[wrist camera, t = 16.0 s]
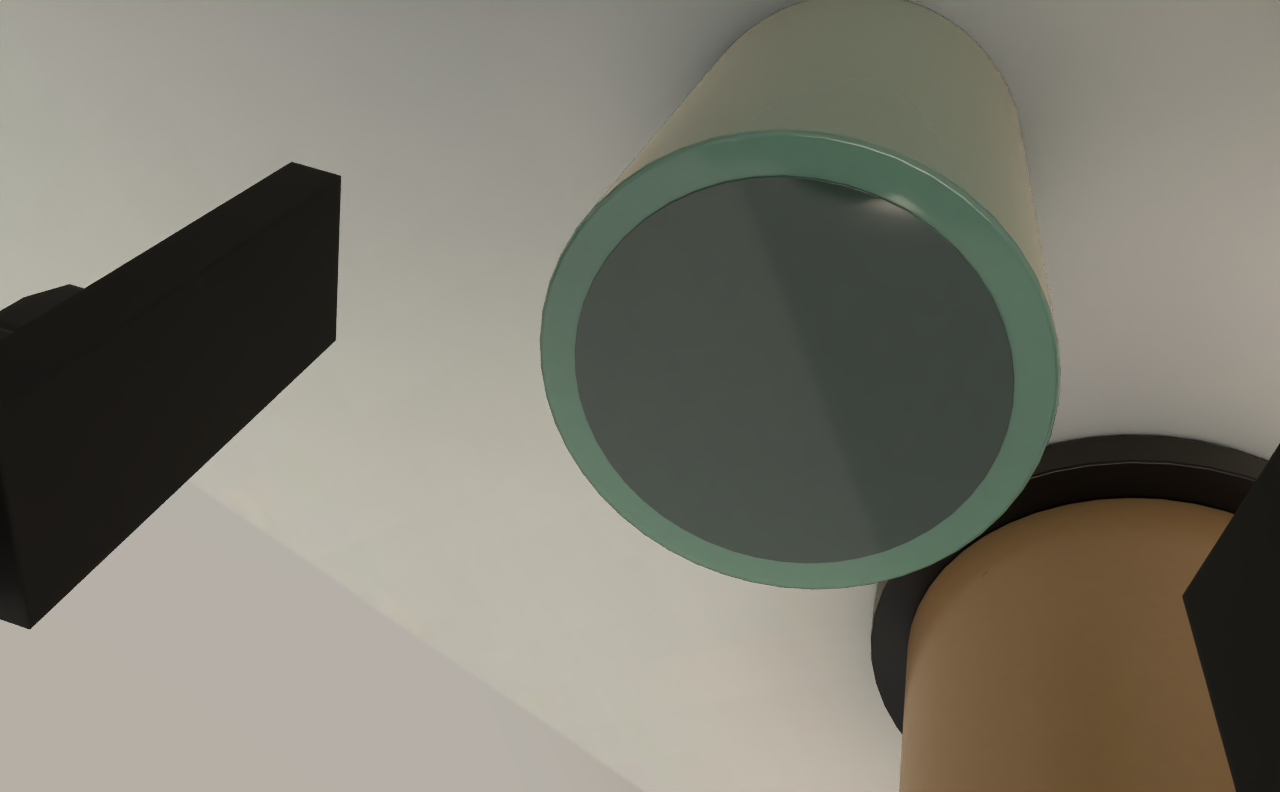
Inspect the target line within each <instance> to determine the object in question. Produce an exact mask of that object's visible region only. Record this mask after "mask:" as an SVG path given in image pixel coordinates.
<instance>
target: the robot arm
mask: <svg viewBox="0 0 1280 792" xmlns="http://www.w3.org/2000/svg"><path fill="white" fill-rule="evenodd" d="M340 192H341V176H340V175H336V174H333V173H329V172H325V171H322V170H318V169H315V168H311V167H308V166H304V165H301V164H297V163H294V162H291V163H289V164H287V165H286V166H284V167H282V168H281V169H279V170H278V171H276V172H274V173H273V174H271V175H269V176H268V177H266V178H264V179H263V180H261V181H260V182H258V183H256V184H255V185H253V186H251V187H250V188H248V189H246V190H245V191H243V192H242V193H240V194H238V195H237V196H235V197H233V198H232V199H230V200H228V201H227V202H225V203H224V204H222V205H220V206H219V207H217V208H215V209H214V210H212V211H210V212H209V213H207V214H206V215H204V216H202V217H201V218H199V219H197V220H196V221H194V222H192V223H191V224H189V225H188V226H186V227H184V228H183V229H181V230H179V231H178V232H176V233H175V234H173V235H171V236H170V237H168V238H166V239H165V240H163V241H161V242H160V243H158V244H157V245H155V246H153V247H152V248H150V249H148V250H147V251H145V252H143V253H142V254H140V255H139V256H137V257H135V258H134V259H132V260H130V261H129V262H127V263H125V264H124V265H122V266H121V267H119V268H117V269H116V270H114V271H112V272H111V273H109V274H107V275H106V276H104V277H103V278H101V279H99V280H98V281H96V282H94V283H93V284H91V285H90V286H88V287H86V288H85V289H84V288H80V287H77V286H74V285H71V284H69V285H65V286H62V287H58V288H55V289H51V290H48V291H44V292H41V293H37V294H34V295H30V296H27V297H24V298H22V299H20V300H18V301H17V302H15V303H13V304H12V305H10V306H8V307H6V308H5V309H3V310H1V311H0V619H1V620H4V621H7V622H10V623H13V624H16V625H19V626H21V627H24V628H27V629H31V628H32V627H33V626H34V625H35V624H36V623H37V622H38V621H39V620H40V619H41V618H43V617H44V615H46V614H47V613H48V612H49V611H50V610H51V609H52V608H53V607H54V606H55V605H56V604H57V603H58V602H59V601H60V600H61V599H63V598H64V597H65V596H66V595H67V594H68V593H69V592H70V591H71V590H72V589H73V588H74V587H75V586H76V585H77V584H78V583H80V582H81V580H83V579H84V578H85V577H86V576H87V575H88V574H89V573H90V572H91V571H92V570H93V569H94V568H95V567H96V566H98V565H99V564H100V562H102V561H103V560H104V559H105V558H106V557H107V556H108V555H109V554H110V553H111V552H112V551H113V550H114V549H115V548H116V547H117V546H119V545H120V544H121V543H122V542H123V541H124V540H125V539H126V538H127V537H128V536H129V535H130V534H131V533H132V532H133V531H134V530H136V529H137V528H138V527H139V526H140V525H141V524H142V523H143V522H144V521H145V520H146V519H147V518H148V517H149V516H150V515H151V514H152V513H154V512H155V511H156V510H157V509H158V508H159V507H160V506H161V505H162V504H163V503H164V502H165V501H166V500H167V499H168V498H169V497H170V496H171V495H173V494H174V493H175V492H176V491H177V490H178V489H179V488H180V487H181V486H182V485H183V484H184V483H185V482H186V481H187V480H188V479H190V478H191V477H192V476H193V475H194V474H195V473H196V472H197V471H198V470H199V469H200V468H201V467H202V466H203V465H204V464H205V463H206V462H207V461H209V460H210V459H211V458H212V457H213V456H214V455H215V454H216V453H217V452H218V451H219V450H220V449H221V448H222V447H223V446H224V445H225V444H227V443H228V442H229V441H230V440H231V439H232V438H233V437H234V436H235V435H236V434H237V433H238V432H239V431H240V430H241V429H242V428H243V427H245V426H246V425H247V424H248V423H249V422H250V421H251V420H252V419H253V418H254V417H255V416H256V415H257V414H258V413H259V412H260V411H261V410H262V409H264V408H265V407H266V406H267V405H268V404H269V403H270V402H271V401H272V400H273V399H274V398H275V397H276V396H277V395H278V394H279V393H280V392H282V391H283V390H284V389H285V388H286V387H287V386H288V385H289V384H290V383H291V382H292V381H293V380H294V379H295V378H296V377H297V376H298V375H299V374H301V373H302V372H303V371H304V370H305V369H306V368H307V367H308V366H309V365H310V364H311V363H312V362H313V361H314V360H315V359H316V358H317V357H319V356H320V355H321V354H322V353H323V352H324V351H325V350H326V349H327V348H328V347H329V346H330V345H331V344H332V343H333V342H334V341H335V340H336V316H337V285H338V254H339V223H340ZM1182 598H1183V602H1184V605H1185V609H1186V613H1187V616H1188V620H1189V623H1190V627H1191V631H1192V634H1193V638H1194V641H1195V645H1196V649H1197V652H1198V656H1199V660H1200V663H1201V667H1202V670H1203V674H1204V678H1205V681H1206V685H1207V689H1208V692H1209V696H1210V699H1211V703H1212V707H1213V710H1214V714H1215V718H1216V721H1217V725H1218V728H1219V732H1220V736H1221V739H1222V743H1223V747H1224V750H1225V754H1226V757H1227V761H1228V765H1229V768H1230V772H1231V775H1232V779H1233V783H1234V786H1235V790H1236V792H1280V444H1279V445H1278V447H1277V449H1276V450H1275V452H1274V453H1273V455H1272V456H1271V458H1270V460H1269V461H1268V463H1267V464H1266V466H1265V467H1264V469H1263V470H1262V472H1261V474H1260V475H1259V477H1258V478H1257V480H1256V481H1255V483H1254V484H1253V486H1252V488H1251V489H1250V491H1249V492H1248V494H1247V495H1246V497H1245V498H1244V500H1243V502H1242V503H1241V505H1240V506H1239V508H1238V509H1237V511H1236V513H1235V514H1234V516H1233V517H1232V519H1231V520H1230V522H1229V523H1228V525H1227V527H1226V528H1225V530H1224V531H1223V533H1222V534H1221V536H1220V537H1219V539H1218V541H1217V542H1216V544H1215V545H1214V547H1213V548H1212V550H1211V551H1210V553H1209V555H1208V556H1207V558H1206V559H1205V561H1204V562H1203V564H1202V566H1201V567H1200V569H1199V570H1198V572H1197V573H1196V575H1195V576H1194V578H1193V580H1192V581H1191V583H1190V584H1189V586H1188V587H1187V589H1186V590H1185V592H1184V594H1183V595H1182Z"/></svg>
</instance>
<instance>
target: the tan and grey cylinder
mask: <svg viewBox="0 0 1280 792" xmlns="http://www.w3.org/2000/svg"><path fill="white" fill-rule="evenodd" d="M1267 463H1268V461H1265V460H1262V459H1260V458H1257V457H1254V456H1251V455H1248V454H1246V453H1243V452H1240V451H1237V450H1234V449H1229V448H1225V447H1221V446H1217V445H1213V444H1209V443H1204V442H1200V441H1193V440H1185V439H1177V438H1170V437H1162V436H1112V437H1099V438H1086V439H1081V440H1075V441H1070V442H1064V443H1059V444H1053V445H1049V446H1046V448H1045V451H1044V453H1043V455H1042V458H1041V460H1040V463H1039V464H1038V466H1037V468H1036V469H1035V471H1034V473H1033V474H1032V476H1031V478H1030V479H1029V481H1028V483H1027V484H1026V486H1025V488H1024V489H1023V490H1022V492H1021V493H1020V494H1019V495H1018V497H1017V498H1016V499H1015V500H1014V501H1013V503H1012V504H1011V505H1010V506H1009V508H1008V509H1007V510H1006V511H1005V512H1004V514H1003V515H1001V516H1000V517H999V518H998V519H997V520H996V521H995V522H994V523H993V524H992V525H991V526H990V527H988V528H987V529H986V530H985V531H984V532H983V533H982V534H981V535H979V536H978V537H976V538H975V539H974V540H972V541H971V542H969V543H968V544H967V545H965V546H964V547H962V548H961V549H959V550H958V551H957V552H955V553H953V554H951V555H949V556H947V557H945V558H943V559H941V560H940V561H938V562H936V563H934V564H932V565H930V566H927V567H925V568H922V569H920V570H917V571H914V572H912V573H909V574H907V575H904V576H901V577H897V578H893V579H890V580H886V581H882V582H879V584H878V587H877V592H876V599H875V605H874V612H873V622H872V631H871V660H872V665H873V670H874V675H875V680H876V684H877V687H878V689H879V692H880V695H881V697H882V700H883V703H884V705H885V707H886V709H887V711H888V712H889V714H890V716H891V718H892V719H893V721H894V723H895V725H896V727H897V728H898V729H899V731H900V732H901V733H902V735H903V736H902V753H901V770H900V787H899V792H1236V790H1235V786H1234V783H1233V779H1232V775H1231V772H1230V768H1229V765H1228V761H1227V757H1226V754H1225V750H1224V747H1223V743H1222V739H1221V736H1220V732H1219V728H1218V725H1217V721H1216V718H1215V714H1214V710H1213V707H1212V703H1211V699H1210V696H1209V692H1208V689H1207V685H1206V681H1205V678H1204V674H1203V670H1202V667H1201V663H1200V660H1199V656H1198V652H1197V649H1196V645H1195V641H1194V638H1193V634H1192V631H1191V627H1190V623H1189V620H1188V616H1187V613H1186V609H1185V605H1184V602H1183V598H1182V595H1183V594H1184V592H1185V590H1186V589H1187V587H1188V586H1189V584H1190V583H1191V581H1192V580H1193V578H1194V576H1195V575H1196V573H1197V572H1198V570H1199V569H1200V567H1201V566H1202V564H1203V562H1204V561H1205V559H1206V558H1207V556H1208V555H1209V553H1210V551H1211V550H1212V548H1213V547H1214V545H1215V544H1216V542H1217V541H1218V539H1219V537H1220V536H1221V534H1222V533H1223V531H1224V530H1225V528H1226V527H1227V525H1228V523H1229V522H1230V520H1231V519H1232V517H1233V516H1234V514H1235V513H1236V511H1237V509H1238V508H1239V506H1240V505H1241V503H1242V502H1243V500H1244V498H1245V497H1246V495H1247V494H1248V492H1249V491H1250V489H1251V488H1252V486H1253V484H1254V483H1255V481H1256V480H1257V478H1258V477H1259V475H1260V474H1261V472H1262V470H1263V469H1264V467H1265V466H1266V464H1267Z"/></svg>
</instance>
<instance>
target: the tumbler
mask: <svg viewBox="0 0 1280 792" xmlns="http://www.w3.org/2000/svg"><path fill="white" fill-rule="evenodd" d="M540 353H541V369H542V375H543V380H544V385H545V391H546V396H547V399H548V403H549V406H550V409H551V412H552V415H553V418H554V421H555V424H556V426H557V428H558V430H559V432H560V434H561V436H562V439H563V441H564V443H565V445H566V447H567V449H568V451H569V452H570V454H571V455H572V457H573V459H574V460H575V462H576V463H577V465H578V467H579V468H580V470H581V471H582V473H583V474H584V475H585V477H586V478H587V479H588V480H589V482H590V483H591V484H592V485H593V487H594V488H595V489H596V490H597V492H598V493H599V494H600V495H601V496H602V497H603V498H604V499H605V500H606V501H607V502H608V503H609V504H610V505H611V506H612V507H613V508H614V509H615V510H616V511H617V512H618V513H619V514H620V515H621V516H622V517H623V518H624V519H626V520H627V521H628V522H629V523H631V524H632V525H633V526H634V527H636V528H637V529H638V530H639V531H641V532H642V533H643V534H645V535H646V536H648V537H649V538H651V539H652V540H654V541H655V542H657V543H659V544H660V545H662V546H663V547H665V548H666V549H668V550H670V551H672V552H674V553H676V554H678V555H680V556H681V557H683V558H685V559H687V560H689V561H691V562H693V563H695V564H698V565H700V566H703V567H706V568H708V569H711V570H713V571H716V572H719V573H721V574H724V575H728V576H731V577H735V578H739V579H742V580H746V581H750V582H754V583H760V584H766V585H772V586H777V587H785V588H800V589H834V588H847V587H854V586H861V585H868V584H874V583H878V582H882V581H886V580H890V579H893V578H897V577H901V576H904V575H907V574H909V573H912V572H914V571H917V570H920V569H922V568H925V567H927V566H930V565H932V564H934V563H936V562H938V561H940V560H941V559H943V558H945V557H947V556H949V555H951V554H953V553H955V552H957V551H958V550H959V549H961V548H962V547H964V546H965V545H967V544H968V543H969V542H971V541H972V540H974V539H975V538H976V537H978V536H979V535H981V534H982V533H983V532H984V531H985V530H986V529H987V528H988V527H990V526H991V525H992V524H993V523H994V522H995V521H996V520H997V519H998V518H999V517H1000V516H1001V515H1003V514H1004V512H1005V511H1006V510H1007V509H1008V508H1009V506H1010V505H1011V504H1012V503H1013V501H1014V500H1015V499H1016V498H1017V497H1018V495H1019V494H1020V493H1021V492H1022V490H1023V489H1024V488H1025V486H1026V484H1027V483H1028V481H1029V479H1030V478H1031V476H1032V474H1033V473H1034V471H1035V469H1036V468H1037V466H1038V464H1039V463H1040V460H1041V458H1042V455H1043V453H1044V451H1045V448H1046V446H1047V443H1048V441H1049V438H1050V436H1051V433H1052V429H1053V424H1054V420H1055V416H1056V412H1057V407H1058V401H1059V388H1060V374H1061V371H1060V359H1059V347H1058V338H1057V332H1056V326H1055V321H1054V315H1053V309H1052V304H1051V298H1050V292H1049V287H1048V281H1047V275H1046V270H1045V264H1044V258H1043V253H1042V247H1041V241H1040V236H1039V230H1038V224H1037V218H1036V213H1035V207H1034V201H1033V196H1032V190H1031V184H1030V179H1029V173H1028V167H1027V162H1026V156H1025V150H1024V145H1023V139H1022V133H1021V128H1020V123H1019V119H1018V115H1017V111H1016V107H1015V104H1014V101H1013V99H1012V96H1011V94H1010V91H1009V89H1008V87H1007V84H1006V82H1005V81H1004V79H1003V77H1002V76H1001V74H1000V72H999V70H998V69H997V67H996V65H995V64H994V63H993V61H992V60H991V59H990V58H989V56H988V55H987V54H986V53H985V51H984V50H983V49H982V48H981V46H980V45H978V44H977V43H976V42H975V41H974V40H973V39H972V38H971V37H970V36H969V35H968V34H967V33H966V32H965V31H963V30H962V29H961V28H959V27H958V26H956V25H955V24H953V23H952V22H951V21H949V20H948V19H946V18H945V17H943V16H941V15H939V14H937V13H935V12H933V11H931V10H929V9H927V8H925V7H923V6H920V5H917V4H914V3H911V2H909V1H906V0H806V1H803V2H800V3H798V4H795V5H792V6H790V7H787V8H784V9H782V10H780V11H778V12H777V13H775V14H773V15H771V16H769V17H767V18H765V19H763V20H762V21H761V22H759V23H758V24H756V25H755V26H754V27H752V28H751V29H749V30H748V31H747V32H745V33H744V34H743V35H742V36H741V37H740V38H739V39H738V40H737V41H736V42H734V43H733V44H732V45H731V46H730V47H729V48H728V49H727V50H726V52H725V53H724V54H723V55H722V56H721V57H720V59H719V60H718V61H717V62H716V63H715V65H714V66H713V67H712V68H711V69H710V70H709V72H708V73H707V74H706V75H705V76H704V77H703V79H702V80H701V81H700V82H699V83H698V85H697V86H696V87H695V88H694V89H693V90H692V92H691V93H690V94H689V95H688V96H687V98H686V99H685V100H684V101H683V102H682V103H681V105H680V106H679V107H678V108H677V109H676V111H675V112H674V113H673V114H672V115H671V116H670V118H669V119H668V120H667V121H666V122H665V123H664V125H663V126H662V127H661V128H660V129H659V131H658V132H657V133H656V134H655V135H654V136H653V138H652V139H651V140H650V141H649V142H648V144H647V145H646V146H645V147H644V148H643V149H642V151H641V152H640V153H639V154H638V155H637V156H636V158H635V159H634V160H633V161H632V162H631V164H630V165H629V166H628V167H627V168H626V169H625V171H624V172H623V173H622V174H621V175H620V177H619V178H618V179H617V180H616V181H615V182H614V184H613V185H612V186H611V187H610V188H609V189H608V191H607V192H606V193H605V194H604V195H603V197H602V198H601V199H600V200H599V201H598V202H597V204H596V205H595V206H594V207H593V209H592V210H591V211H590V212H589V213H588V215H587V216H586V217H585V218H584V220H583V221H582V222H581V223H580V224H579V226H578V227H577V228H576V230H575V231H574V233H573V235H572V236H571V238H570V240H569V241H568V243H567V245H566V246H565V248H564V250H563V252H562V253H561V255H560V257H559V260H558V262H557V265H556V267H555V270H554V272H553V275H552V277H551V279H550V282H549V286H548V290H547V294H546V298H545V302H544V306H543V311H542V321H541V332H540Z"/></svg>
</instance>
